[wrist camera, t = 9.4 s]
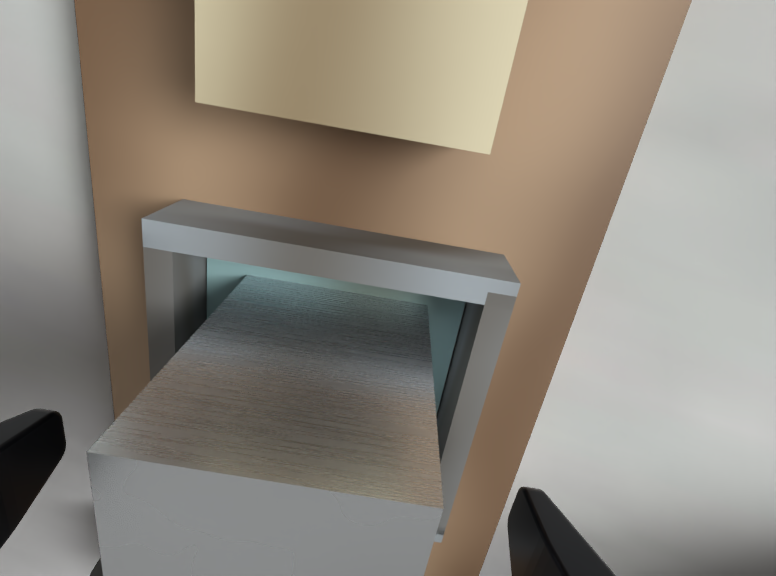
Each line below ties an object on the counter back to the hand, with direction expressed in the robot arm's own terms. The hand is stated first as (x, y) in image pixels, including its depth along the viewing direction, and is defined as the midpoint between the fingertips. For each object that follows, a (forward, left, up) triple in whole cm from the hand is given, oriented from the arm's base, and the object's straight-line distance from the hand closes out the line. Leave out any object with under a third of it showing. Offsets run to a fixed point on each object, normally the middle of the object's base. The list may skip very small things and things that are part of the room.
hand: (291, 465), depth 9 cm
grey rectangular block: (0, 0, -4) cm, 4 cm away
